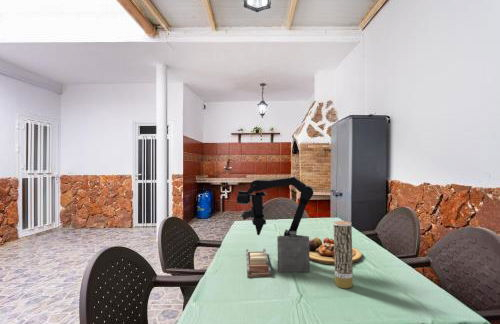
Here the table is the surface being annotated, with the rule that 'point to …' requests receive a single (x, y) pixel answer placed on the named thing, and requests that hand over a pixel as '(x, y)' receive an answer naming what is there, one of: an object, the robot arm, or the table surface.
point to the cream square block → (257, 259)
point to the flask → (293, 253)
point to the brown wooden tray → (258, 267)
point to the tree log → (343, 254)
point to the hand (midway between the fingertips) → (258, 235)
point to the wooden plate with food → (327, 251)
